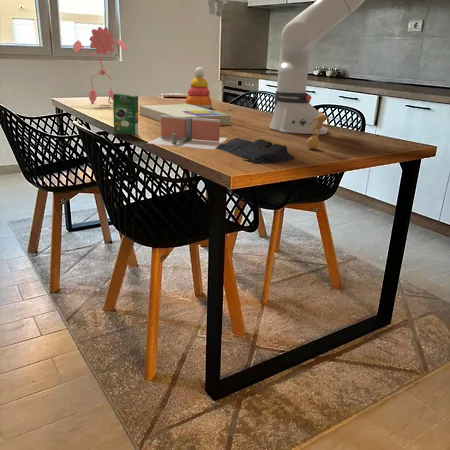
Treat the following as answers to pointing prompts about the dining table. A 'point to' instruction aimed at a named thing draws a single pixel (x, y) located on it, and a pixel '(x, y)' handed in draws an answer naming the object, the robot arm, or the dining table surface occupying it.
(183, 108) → the puzzle box
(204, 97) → the stacking toy
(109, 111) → the dining table surface
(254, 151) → the dark slate chunk
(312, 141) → the figurine
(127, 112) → the coffee box
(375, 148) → the dining table surface
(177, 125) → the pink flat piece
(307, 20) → the robot arm
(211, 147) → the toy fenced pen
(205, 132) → the fence panel
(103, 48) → the figurine
